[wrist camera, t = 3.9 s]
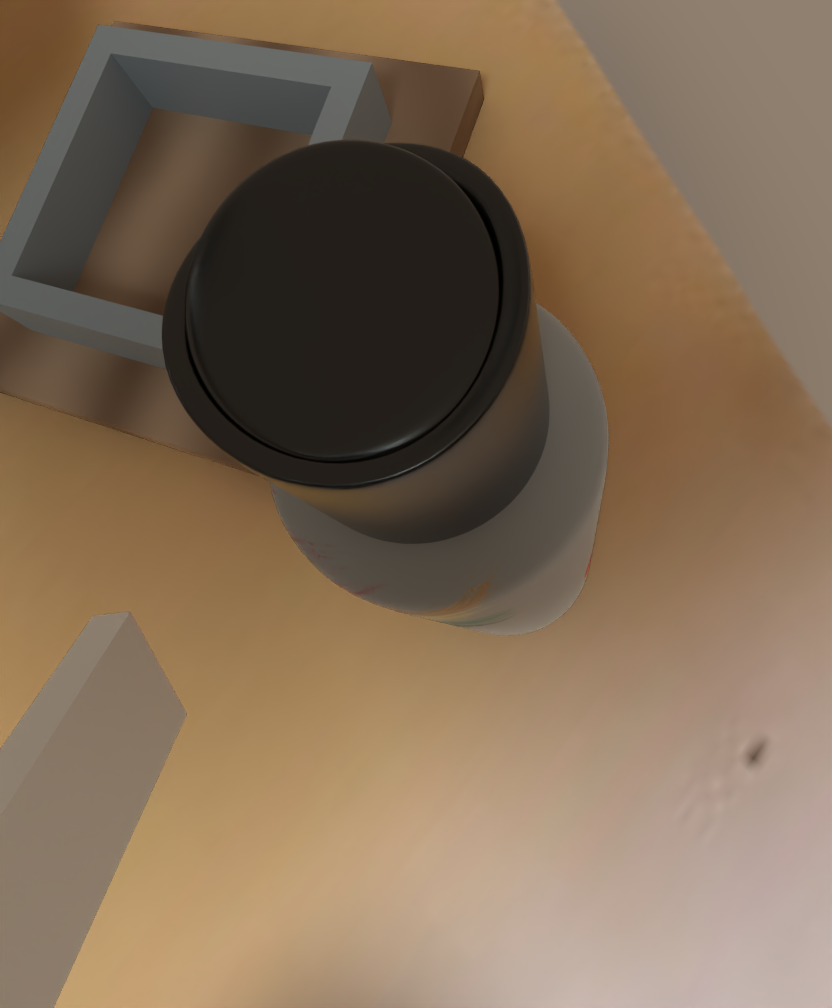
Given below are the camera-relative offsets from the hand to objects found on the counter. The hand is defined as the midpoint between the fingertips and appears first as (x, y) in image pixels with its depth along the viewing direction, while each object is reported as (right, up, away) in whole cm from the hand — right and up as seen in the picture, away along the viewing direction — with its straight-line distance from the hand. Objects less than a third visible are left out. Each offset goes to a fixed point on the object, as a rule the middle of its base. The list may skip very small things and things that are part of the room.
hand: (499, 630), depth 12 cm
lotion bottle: (+2, 0, +14) cm, 14 cm away
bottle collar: (-10, +14, +17) cm, 24 cm away
